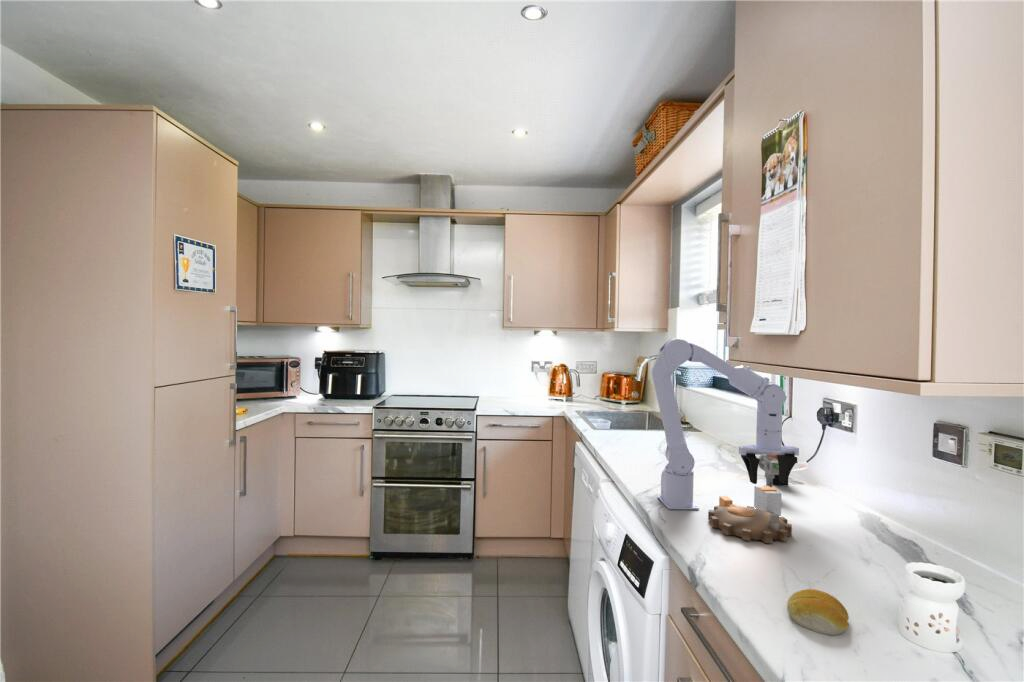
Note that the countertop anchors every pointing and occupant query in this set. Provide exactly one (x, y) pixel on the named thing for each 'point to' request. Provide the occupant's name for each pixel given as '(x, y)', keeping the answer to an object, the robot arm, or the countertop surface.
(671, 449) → the robot arm
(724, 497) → the block
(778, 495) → the white banded box
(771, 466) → the mechanical component
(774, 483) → the battery
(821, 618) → the bread roll
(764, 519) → the brown gear wheel
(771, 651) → the countertop surface
